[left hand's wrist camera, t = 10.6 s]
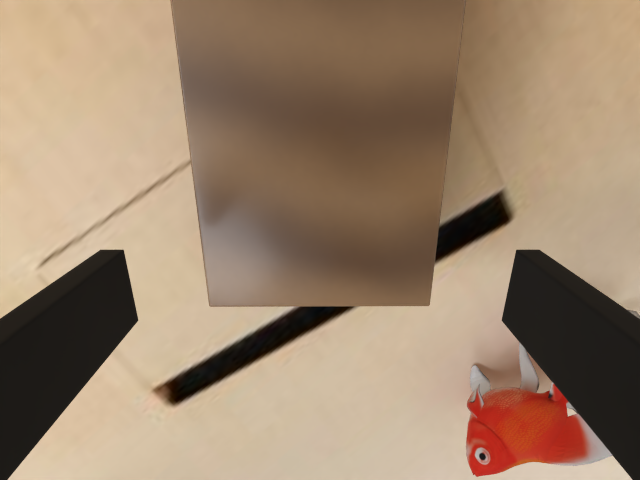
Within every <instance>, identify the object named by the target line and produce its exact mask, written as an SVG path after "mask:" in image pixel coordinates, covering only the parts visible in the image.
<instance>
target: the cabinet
mask: <svg viewBox="0 0 640 480" xmlns="http://www.w3.org/2000/svg"><path fill="white" fill-rule="evenodd" d="M465 2H466V0H171V8H172V16H173V24H174V32H175V39H176V47H177V55H178V63H179V71H180V79H181V87H182V94H183V102H184V110H185V118H186V126H187V134H188V142H189V150H190V157H191V165H192V173H193V181H194V189H195V197H196V205H197V213H198V220H199V228H200V236H201V244H202V252H203V260H204V268H205V276H206V283H207V291H208V299H209V306H211V307H217V306H429V305H430V297H431V289H432V281H433V272H434V264H435V255H436V247H437V238H438V230H439V222H440V213H441V205H442V196H443V188H444V179H445V171H446V163H447V154H448V146H449V137H450V129H451V120H452V112H453V104H454V95H455V87H456V78H457V70H458V61H459V53H460V45H461V36H462V28H463V19H464V11H465Z"/></svg>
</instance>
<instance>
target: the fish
mask: <svg viewBox="0 0 640 480" xmlns="http://www.w3.org/2000/svg"><path fill="white" fill-rule="evenodd" d="M628 311H629V312H631V313H632V314H634V315H635V316H636V317H638V318H639V319H640V315H639V314H638V313H637V312H636V311H631V310H628ZM519 363H520V370H521V378H522V380H521V386H520V388H513V387H504V388H497V389H493V390H490V386H491V385H490V381H489V380H488V379H487V378H486V376H485V375H484V374H483V373H482V372H481V371H480V370H479V368H478V367H477V366H476V365H474V366H472V368H471V374H470V385H471V389H472V391H473V393H472V394H471V396H470V398H469V400H468V403H467V407H468V409H469V410H470V411H471V415H470V419H469V422H468V431H467V441H466V455H467V459H468V463H469V466H470V468H471V471H472V473H473V475H474V474H475V475H476V476H477V477H478V476H483V475H491V474H497V473H500V472H503V471H505V470H507V469H509V468H512V467H514V466H517V465H520V464H523V463H527V462H542V463H549V464H556V465H573V466H576V465H583V464H591V463H594V462H596V461H599V460H602V459H605V458H607V457H610V456H612V454H611V453H610V451H609V450H608V449H607V448H606V447H605V445H604V444H603V443H602V442H601V441H600V439H599V438H598V437H597V436H596V434H595V433H594V432H593V431H592V430H591V428H590V427H589V426H588V425H587V423H586V422H585V421H584V420H583V419H582V417H581V416H580V415H579V414H578V413H577V411H576V410H575V409H574V408H573V406H572V405H571V404H570V403H569V402H568V400H567V399H566V398H565V397H564V396H563V394H562V393H561V392H560V391H559V389H558V388H557V387H556V386H555V385H554V383H553V382H552V384H551V388H550V391H547V392H545V393H536V392H537V390H538V387H539V379H538V376H537V373H536V371H535V369H534V367H533V365H532V363H531V361H530V358H529V356H528V354H527V351H526V349H525V348H524V347H523V346H522V344H521V343H520V342H519ZM567 408H570V409H573V410H574V411H575V412H576V413H577V414H575V415H572V416H569V417H568V415H567Z"/></svg>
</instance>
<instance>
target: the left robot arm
mask: <svg viewBox="0 0 640 480" xmlns="http://www.w3.org/2000/svg"><path fill="white" fill-rule="evenodd" d="M137 321H138V317H137V312H136V307H135V302H134V298H133V293H132V288H131V283H130V278H129V273H128V269H127V264H126V259H125V254H124V250H100V251H98V252H97V253H95V254H94V255H92V256H91V257H90V258H88V259H87V260H85V261H84V262H82V263H81V264H79V265H78V266H76V267H75V268H74V269H72V270H71V271H69V272H68V273H66V274H65V275H63V276H62V277H60V278H59V279H57V280H56V281H55V282H53V283H52V284H50V285H49V286H47V287H46V288H44V289H43V290H41V291H40V292H39V293H37V294H36V295H34V296H33V297H31V298H30V299H28V300H27V301H25V302H24V303H23V304H21V305H20V306H18V307H17V308H15V309H14V310H12V311H11V312H9V313H8V314H6V315H5V316H4V317H2V318H1V319H0V480H7V479H8V478H9V477H10V476H11V475H12V473H13V472H14V471H15V470H16V468H17V467H18V466H19V465H20V464H21V462H22V461H23V460H24V459H25V458H26V456H27V455H28V454H29V453H30V451H31V450H32V449H33V448H34V447H35V445H36V444H37V443H38V442H39V441H40V439H41V438H42V437H43V436H44V434H45V433H46V432H47V431H48V430H49V428H50V427H51V426H52V425H53V423H54V422H55V421H56V420H57V419H58V417H59V416H60V415H61V414H62V413H63V411H64V410H65V409H66V408H67V406H68V405H69V404H70V403H71V402H72V400H73V399H74V398H75V397H76V396H77V394H78V393H79V392H80V391H81V389H82V388H83V387H84V386H85V385H86V383H87V382H88V381H89V380H90V378H91V377H92V376H93V375H94V374H95V372H96V371H97V370H98V369H99V368H100V366H101V365H102V364H103V363H104V361H105V360H106V359H107V358H108V357H109V355H110V354H111V353H112V352H113V350H114V349H115V348H116V347H117V346H118V344H119V343H120V342H121V341H122V340H123V338H124V337H125V336H126V335H127V333H128V332H129V331H130V330H131V329H132V327H133V326H134V325H135V324H136V323H137ZM502 321H503V323H504V324H505V325H506V326H507V327H508V329H509V330H510V331H511V332H512V333H513V335H514V336H515V337H516V338H517V340H518V341H519V342H520V343H521V344H522V346H523V347H524V348H525V349H526V350H527V352H528V353H529V354H530V355H531V357H532V358H533V359H534V360H535V361H536V363H537V364H538V365H539V366H540V368H541V369H542V370H543V371H544V372H545V374H546V375H547V376H548V377H549V378H550V380H551V381H552V382H553V383H554V385H555V386H556V387H557V388H558V389H559V391H560V392H561V393H562V394H563V396H564V397H565V398H566V399H567V400H568V402H569V403H570V404H571V405H572V406H573V408H574V409H575V410H576V411H577V413H578V414H579V415H580V416H581V417H582V419H583V420H584V421H585V422H586V423H587V425H588V426H589V427H590V428H591V430H592V431H593V432H594V433H595V434H596V436H597V437H598V438H599V439H600V441H601V442H602V443H603V444H604V445H605V447H606V448H607V449H608V450H609V451H610V453H611V454H612V455H613V456H614V458H615V459H616V460H617V461H618V462H619V464H620V465H621V466H622V467H623V468H624V470H625V471H626V472H627V473H628V475H629V476H630V477H631V478H632V479H633V480H640V319H639V318H638V317H636V316H635V315H634V314H632V313H631V312H629V311H628V310H626V309H625V308H623V307H622V306H620V305H619V304H617V303H616V302H615V301H613V300H612V299H610V298H609V297H607V296H606V295H604V294H603V293H601V292H600V291H599V290H597V289H596V288H594V287H593V286H591V285H590V284H588V283H587V282H585V281H584V280H583V279H581V278H580V277H578V276H577V275H575V274H574V273H572V272H571V271H569V270H568V269H566V268H565V267H564V266H562V265H561V264H559V263H558V262H556V261H555V260H553V259H552V258H550V257H549V256H548V255H546V254H545V253H543V252H542V251H540V250H516V254H515V259H514V264H513V269H512V273H511V278H510V283H509V288H508V293H507V298H506V302H505V307H504V312H503V317H502Z"/></svg>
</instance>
